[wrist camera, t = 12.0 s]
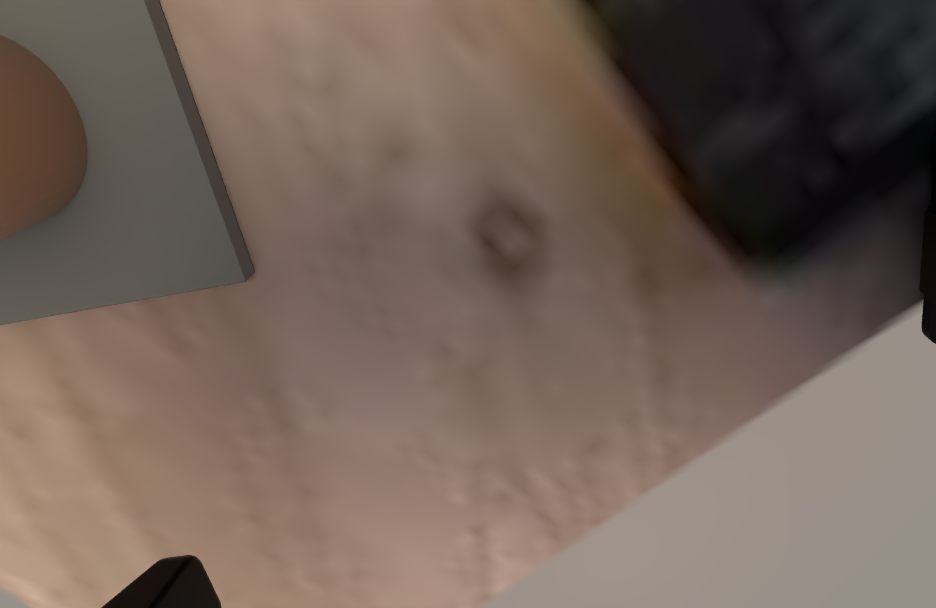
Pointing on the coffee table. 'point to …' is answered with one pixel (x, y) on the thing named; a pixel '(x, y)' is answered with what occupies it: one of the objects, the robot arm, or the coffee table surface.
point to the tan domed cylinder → (36, 141)
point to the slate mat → (121, 169)
